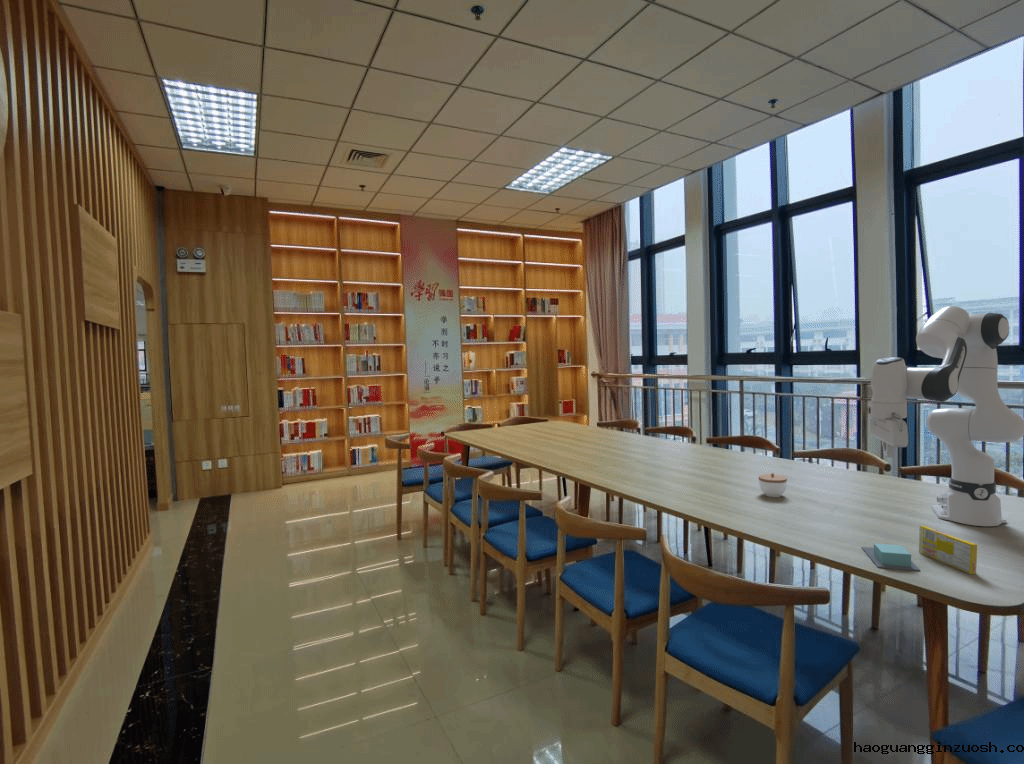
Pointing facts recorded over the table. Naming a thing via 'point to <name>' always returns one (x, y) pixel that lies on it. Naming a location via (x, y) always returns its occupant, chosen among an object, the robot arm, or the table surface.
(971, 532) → the table surface
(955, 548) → the candy box
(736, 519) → the table surface
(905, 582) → the table surface
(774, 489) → the lidded jar
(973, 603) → the table surface
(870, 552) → the felt mat
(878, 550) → the teal rectangular prism
